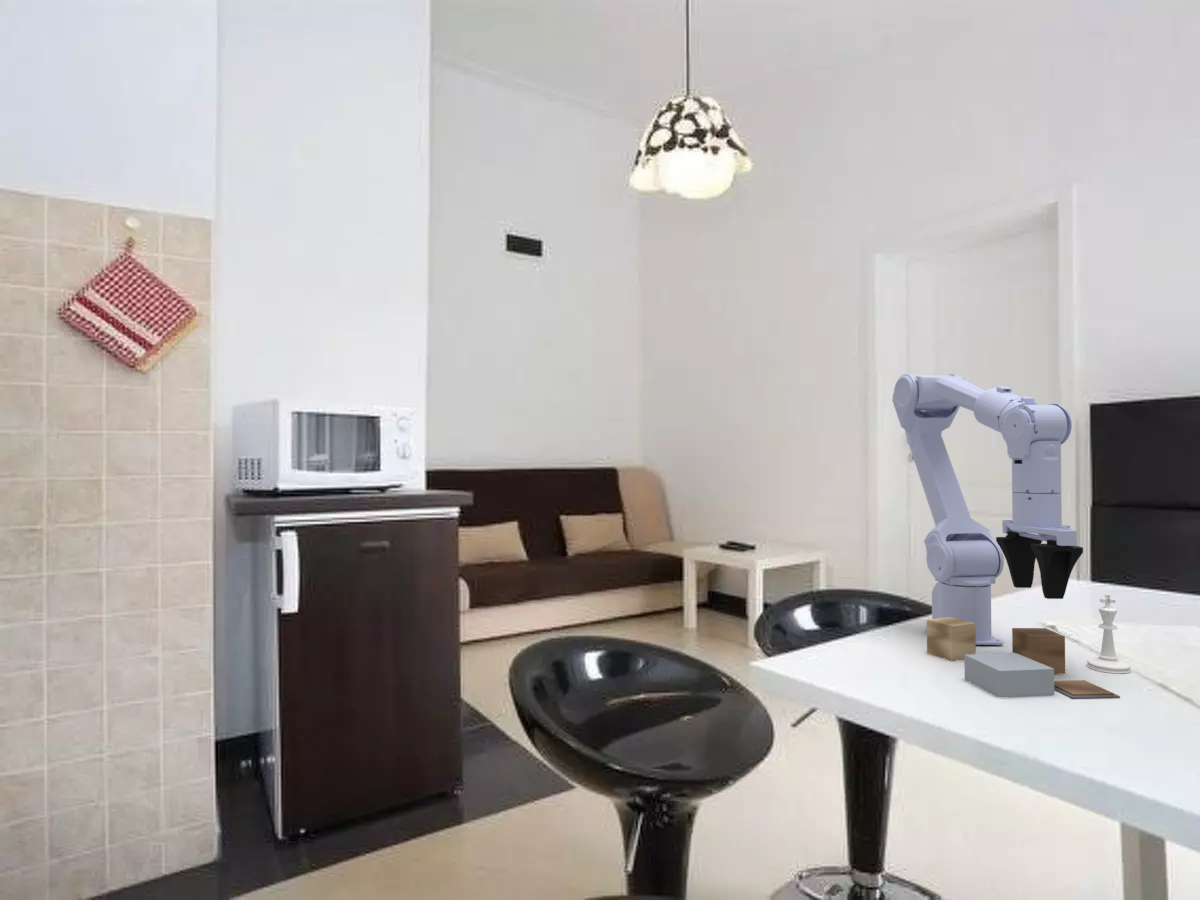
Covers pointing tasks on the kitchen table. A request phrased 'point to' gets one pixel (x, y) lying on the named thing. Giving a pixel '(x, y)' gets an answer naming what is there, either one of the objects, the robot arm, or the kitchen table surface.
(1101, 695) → the walnut swatch
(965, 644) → the oak block
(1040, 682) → the base block
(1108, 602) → the chess piece
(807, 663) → the kitchen table surface
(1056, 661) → the walnut block
